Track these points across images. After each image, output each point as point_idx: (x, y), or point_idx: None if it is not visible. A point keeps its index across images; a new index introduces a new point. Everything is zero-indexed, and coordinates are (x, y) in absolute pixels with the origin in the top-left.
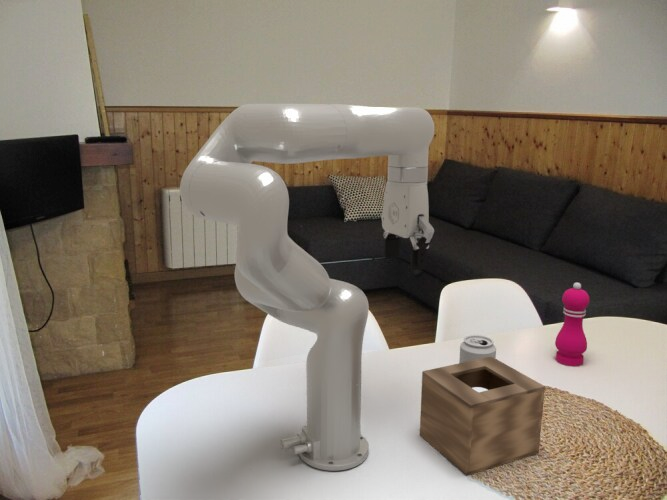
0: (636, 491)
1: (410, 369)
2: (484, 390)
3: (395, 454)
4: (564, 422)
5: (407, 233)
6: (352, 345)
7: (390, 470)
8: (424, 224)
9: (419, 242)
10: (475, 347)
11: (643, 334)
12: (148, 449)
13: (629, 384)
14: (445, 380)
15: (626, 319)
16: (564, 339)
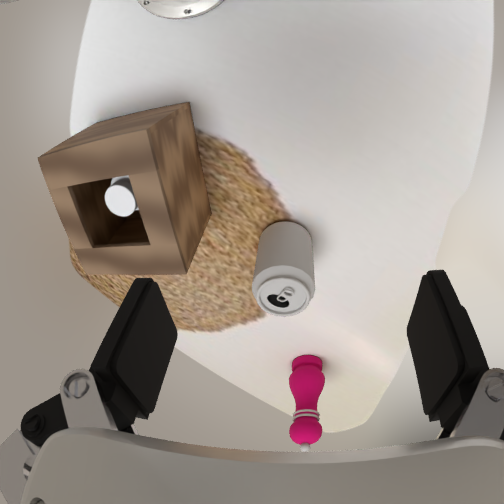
0: (73, 255)
1: (393, 194)
2: (123, 210)
3: (152, 52)
4: (180, 281)
5: (39, 451)
6: None
7: (122, 37)
8: (8, 501)
9: (63, 416)
10: (264, 281)
11: (320, 421)
12: None
13: (238, 368)
14: (105, 155)
15: (352, 426)
16: (303, 381)
